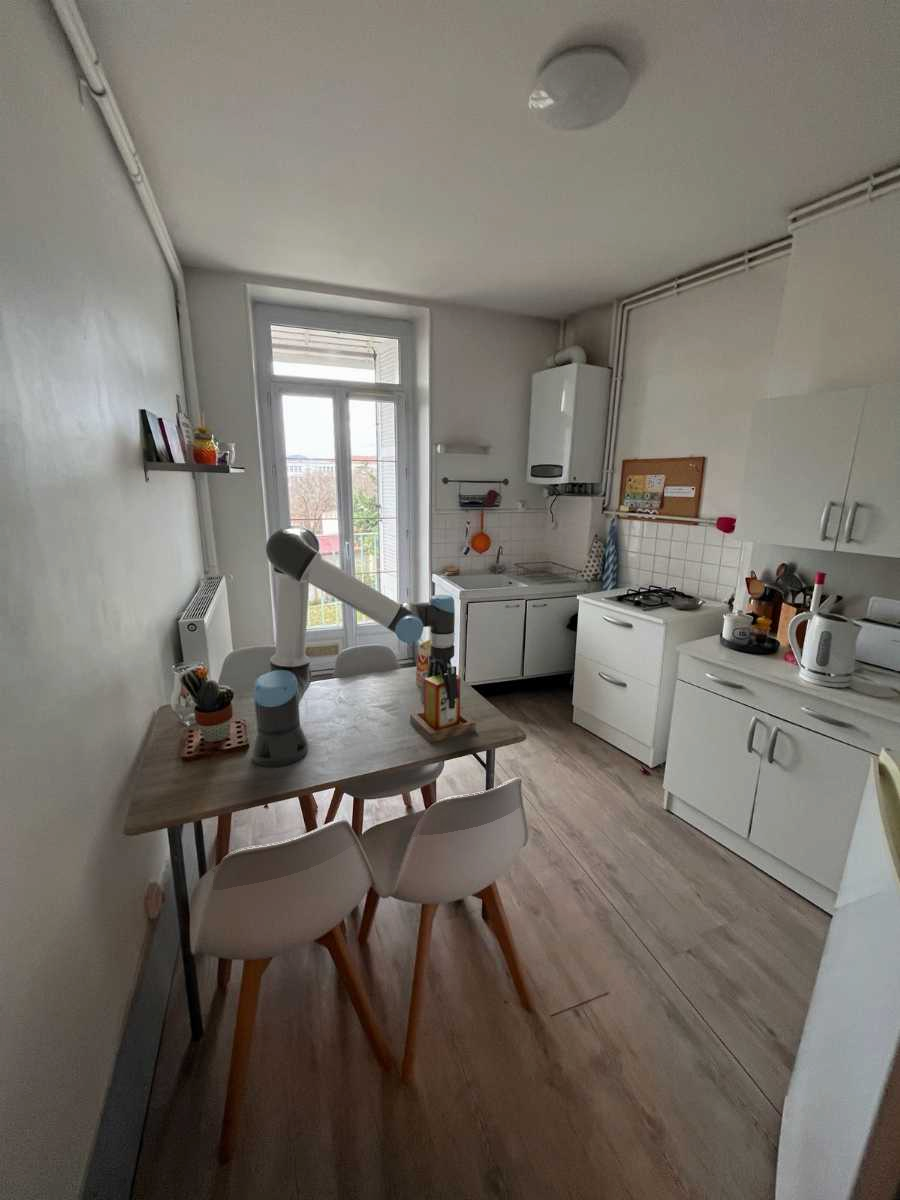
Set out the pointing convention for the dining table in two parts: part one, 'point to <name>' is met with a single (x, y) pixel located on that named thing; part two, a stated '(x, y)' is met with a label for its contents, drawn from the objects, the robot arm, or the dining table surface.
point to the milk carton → (422, 660)
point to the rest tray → (433, 736)
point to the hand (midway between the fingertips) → (442, 710)
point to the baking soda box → (438, 704)
